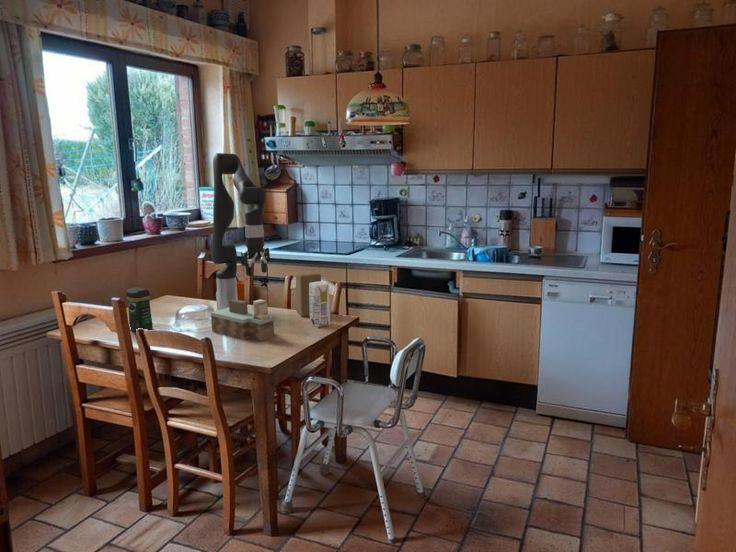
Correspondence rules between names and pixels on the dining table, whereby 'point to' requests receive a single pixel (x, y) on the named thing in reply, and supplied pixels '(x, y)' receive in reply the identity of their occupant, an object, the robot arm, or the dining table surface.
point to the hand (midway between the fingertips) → (256, 274)
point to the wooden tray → (243, 329)
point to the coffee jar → (139, 308)
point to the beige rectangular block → (260, 309)
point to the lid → (239, 313)
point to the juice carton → (319, 304)
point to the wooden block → (304, 290)
